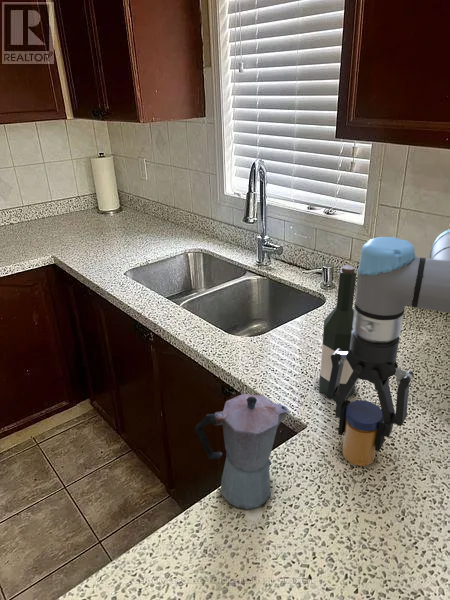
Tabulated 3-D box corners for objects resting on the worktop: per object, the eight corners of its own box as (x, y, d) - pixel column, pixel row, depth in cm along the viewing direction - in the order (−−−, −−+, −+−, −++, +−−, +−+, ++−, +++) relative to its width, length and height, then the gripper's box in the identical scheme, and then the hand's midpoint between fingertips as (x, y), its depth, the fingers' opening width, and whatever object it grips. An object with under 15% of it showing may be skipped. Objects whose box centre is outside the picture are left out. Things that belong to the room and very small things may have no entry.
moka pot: (296, 500, 76) (301, 409, 67) (208, 525, 72) (202, 432, 63) (274, 459, 84) (277, 373, 75) (195, 480, 81) (187, 391, 72)
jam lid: (389, 420, 80) (390, 413, 80) (367, 436, 77) (368, 429, 76) (359, 402, 85) (360, 395, 84) (337, 417, 82) (338, 409, 81)
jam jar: (377, 448, 86) (383, 410, 82) (371, 470, 81) (377, 431, 77) (346, 438, 89) (350, 401, 84) (338, 459, 84) (342, 421, 80)
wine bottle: (326, 401, 99) (337, 277, 85) (312, 379, 106) (320, 262, 92) (361, 396, 100) (378, 272, 86) (345, 374, 107) (357, 257, 94)
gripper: (311, 325, 75) (304, 429, 86) (432, 361, 65) (407, 475, 75) (329, 308, 81) (321, 408, 91) (444, 339, 70) (419, 447, 81)
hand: (360, 438), depth 83 cm, fingers closed on jam lid, 6 cm apart
